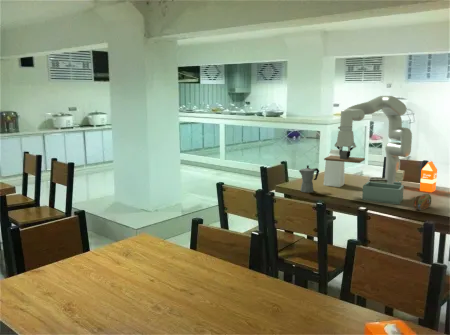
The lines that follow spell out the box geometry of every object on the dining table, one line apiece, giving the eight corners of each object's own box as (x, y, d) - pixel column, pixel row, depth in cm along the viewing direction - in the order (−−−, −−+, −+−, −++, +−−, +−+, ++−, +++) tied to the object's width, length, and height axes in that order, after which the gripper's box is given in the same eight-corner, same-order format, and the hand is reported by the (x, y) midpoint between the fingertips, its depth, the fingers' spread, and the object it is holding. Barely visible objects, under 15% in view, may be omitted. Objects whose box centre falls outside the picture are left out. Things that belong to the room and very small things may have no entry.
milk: (344, 184, 308) (346, 149, 303) (339, 187, 299) (341, 151, 294) (328, 182, 315) (329, 148, 310) (323, 185, 305) (324, 150, 300)
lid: (330, 157, 285) (331, 148, 284) (364, 159, 273) (365, 151, 272) (324, 160, 273) (324, 151, 272) (359, 163, 262) (359, 154, 261)
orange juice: (435, 190, 288) (438, 161, 284) (431, 192, 282) (434, 163, 278) (423, 188, 293) (426, 160, 289) (419, 190, 287) (421, 162, 283)
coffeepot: (301, 193, 282) (302, 167, 278) (295, 190, 291) (295, 164, 287) (321, 191, 286) (322, 165, 283) (315, 188, 295) (315, 163, 292)
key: (397, 178, 277) (398, 170, 276) (403, 178, 275) (404, 170, 274) (395, 180, 271) (395, 172, 270) (401, 181, 269) (402, 172, 268)
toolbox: (368, 193, 280) (369, 178, 278) (403, 197, 269) (404, 182, 267) (362, 199, 265) (362, 184, 263) (399, 204, 254) (400, 188, 252)
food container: (384, 191, 285) (385, 177, 283) (387, 193, 279) (388, 179, 277) (366, 191, 286) (367, 176, 285) (368, 193, 280) (369, 178, 279)
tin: (417, 211, 239) (418, 197, 237) (412, 210, 241) (413, 196, 240) (431, 207, 247) (432, 193, 246) (426, 206, 250) (427, 192, 248)
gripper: (331, 128, 271) (330, 156, 274) (357, 129, 262) (356, 158, 265) (335, 127, 277) (333, 155, 280) (360, 129, 268) (359, 157, 272)
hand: (344, 156), depth 273 cm, fingers closed on lid, 4 cm apart
